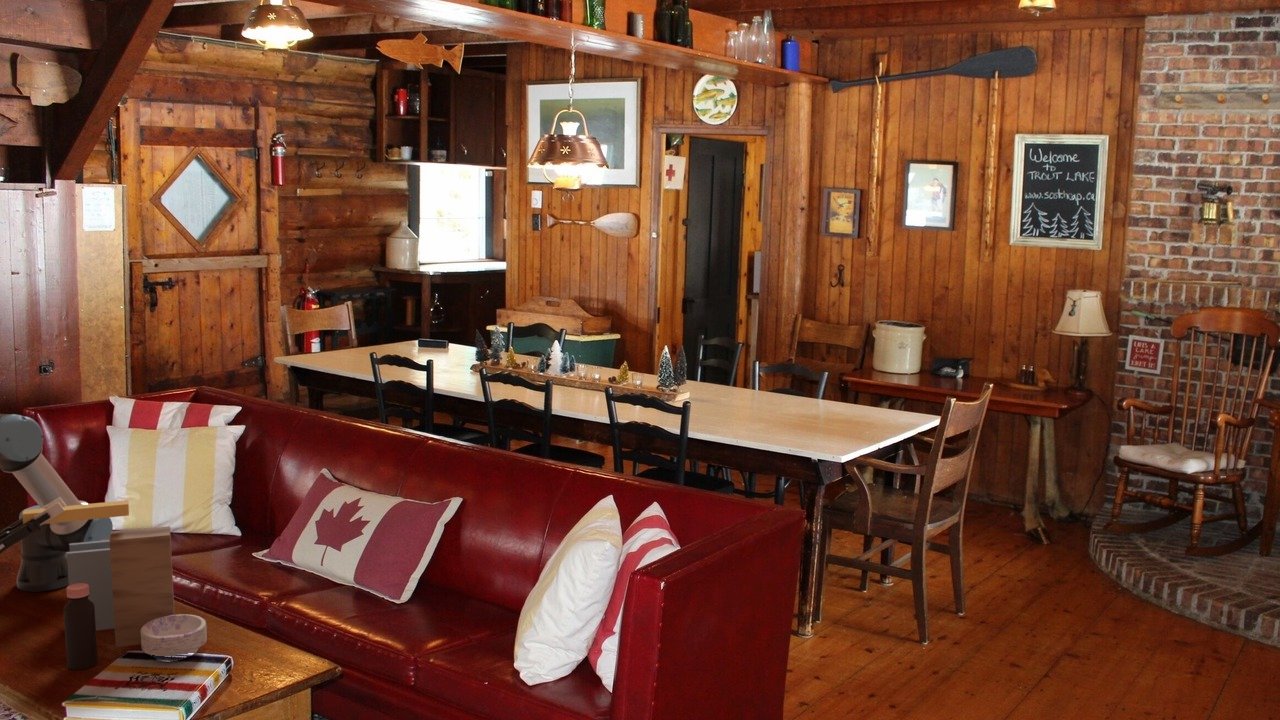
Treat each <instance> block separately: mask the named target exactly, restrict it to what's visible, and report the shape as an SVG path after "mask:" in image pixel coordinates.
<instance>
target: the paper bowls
mask: <svg viewBox="0 0 1280 720" xmlns="http://www.w3.org/2000/svg"><path fill="white" fill-rule="evenodd" d="M207 631H208V629H207V621H206V620H205V618H203V617H201V616H199V615H195V614H186V613H185V614H184V613H183V614H175V615H169V616H164V617H160V618H157V619H154V620H152V621H150V622H148V623H146V624H145V625H144V626H143V627H142V628H141V631H140V632H141V644H140V645H141V650H142V651H143V652H144V654H146V655H150V656H152V655H155V656H169V655H170V656H171V655H177V654H188V653H195V654H196V653H197V652H198V650H199V649H200V648H201V647H202V646H204V645H205V644H206V643H207V639H208V637H207V636H208V634H207V633H208V632H207Z"/></svg>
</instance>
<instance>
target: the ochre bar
mask: <svg viewBox="0 0 1280 720" xmlns="http://www.w3.org/2000/svg"><path fill="white" fill-rule="evenodd" d="M62 507H63V508H64V510H65V511H64V512H62V513H61V514H59V515H57V516H56V517H54V518H53V519H51V520H49V521H48V522H46V523H44V524H49V523H59V522H69V521H79V520H89V519H99V518H109V517H110V518H117V517H126V516H129V515H130V505H129V499H127V500H116V501H107V502H106V501H104V502H96V503H95V502H94V503H88V504H83V505H72V506H62ZM46 509H47V508H41V509H30V510H25V509H23V510H24V512H23V514H22V516H23V524H24V523H26V522H28V521H29V520H31V519H34V520H35V518H34V516H36V515H37V514H39V513H41V512H42V511H44V510H46Z"/></svg>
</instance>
